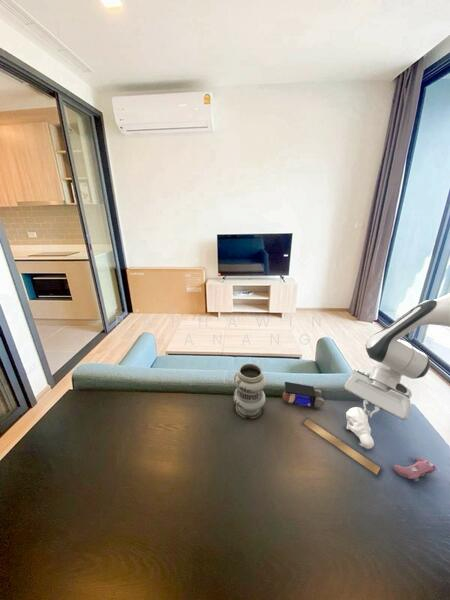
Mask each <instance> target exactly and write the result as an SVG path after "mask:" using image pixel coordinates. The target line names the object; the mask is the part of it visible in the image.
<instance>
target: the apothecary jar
mask: <svg viewBox="0 0 450 600" xmlns="http://www.w3.org/2000/svg"><path fill="white" fill-rule="evenodd" d="M233 380H234V384H235V385H236V389H235V390H234V392H233V396H232V397H233V401H234V404H235V410H236V413H237V414H238V415H239V416H240V417H242V418H244V419H248V418H249V419H251V420H252V419H255V418H257V417H259V416H261V414H262V407H263V406H264V405H265V403H266V394H265V392H264V390H263V389H264V388H265V387H266V386H267V376H266V375H265V373H264V372H263V369H262V367H260V366H259V365H257V364H255V363H245V364H242V365H241V366H240V367H239V369H238V370H237V371H236V372H235V374H234V377H233Z"/></svg>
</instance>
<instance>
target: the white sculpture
mask: <svg viewBox="0 0 450 600" xmlns="http://www.w3.org/2000/svg"><path fill="white" fill-rule="evenodd" d="M345 418H346V420H347V421H346V422H347V423H346V427H345V428H346V430H347V431H349V430H350V431H351V432H352V433H353V434H355V436H356V437H357V438H358V439H359V442H358V444H359V446H361V447H363V448H364V449H368V450H370V449H373V447H374V446H375V442H374V438H373V437H372V435H371V432H372V428H371V427H370V423H369V417H368V416H367V414H366V413H365V411H364V408H362V407H359V406H353V407H351V408H349V409H348V410H347V411H346V412H345Z"/></svg>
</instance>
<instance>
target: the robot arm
mask: <svg viewBox="0 0 450 600" xmlns="http://www.w3.org/2000/svg"><path fill="white" fill-rule="evenodd" d="M426 325H429V326H430V325H431V326H440V327H441V326H443V327H448V328H450V292H449V293H447V294H446V295H444V296H442V297H439V298H437V299H426V300H424V301H423V302H421V303H419V304H417V305H415V306H414V307H412V308H410V310H408V311H407V312H405V313H404V314H402V315H401V316H400V317H399V318H397V319H396V320H394V321H393V322H392V323H390V324H389V325H388V326H386V327H384V328H383V329H381V330H380V331H377V332H376V333H374V334H373V335H371V336H370V337H369V339H368V340H367V341H366V344H365V351H366V353H367V355H368V357H369V359H371V360H373V361H376V362H377V363H375V364H374V366H373V367H372V369H371V372H370V373H366V372H364V371H362V370H360V369H352V371H350V374H349V378H348V379H347V381H346V382H345V384H344V389H345V390H346V391H347V392H348V393H350V394H351V395H354V396H356V397H357V398H360V399H361V400H362V405H363V410H364V411H365V413H366V414H367V416H368V418H370V419H372V418H373V416H374V415H375V414H377V413H379V412H380V411H384V412H386V413H387V414H390V415H391V416H393V417H395V418H397V419H399V420H401V421H406V420H408V418H409V415H410V412H411V411H410V410H411V400H410V399H411V398H412V396H413V393H412V391H411V389H409V388H408V387H407V386H406V385H404V384H403V383H401V381H402V376H404V377H406V378H409V379H413V380H414V379H415V380H416V379H420V378H423V377H425V376H426V375H427V374H428V372H429V370H430V366H431V362H430V358H429V357H428V355H427V354H426V353H424V352H423V351H420V350H419V349H417V348H415V347H413V346H412V345H411V343H409V342H408V341H406V340H403V339H402V338H403V337H404V336H406V335H408V334H409V333H411V332H412V331H414V330H415V329H417V328H418V327H421V326H426ZM369 404H371V405H373V406H374V410H371V411H370V410H369V409H368V408H367V406H369Z"/></svg>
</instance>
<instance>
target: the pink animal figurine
mask: <svg viewBox="0 0 450 600" xmlns="http://www.w3.org/2000/svg"><path fill="white" fill-rule="evenodd" d="M414 462H415V463H413V464H411V465H408V466H402V465H399V464H394V465H393V470H394V472H395V473H397V474H398V475H399V476H401V477H403V478H405V479H408V480H414V481H415V482H417V481H419V480H420V478H419V477H424V476H425V475H426V474H432V473H434V472H436V471H438V468H437V467H436V465H435V464H434V463H433V461H431V460H429V459H425V458H421V457H415V459H414Z"/></svg>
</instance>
